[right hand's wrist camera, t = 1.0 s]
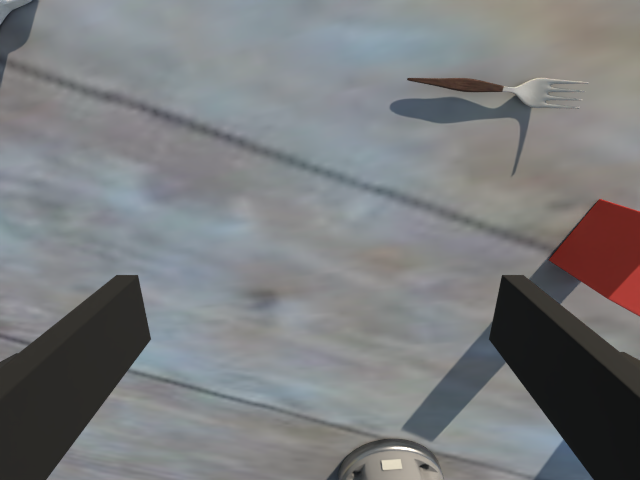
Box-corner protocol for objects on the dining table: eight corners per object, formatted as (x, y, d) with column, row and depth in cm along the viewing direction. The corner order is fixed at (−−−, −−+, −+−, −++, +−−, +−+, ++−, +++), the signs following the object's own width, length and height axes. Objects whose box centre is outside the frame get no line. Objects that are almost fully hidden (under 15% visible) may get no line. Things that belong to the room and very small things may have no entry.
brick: (635, 221, 38) (723, 251, 30) (583, 279, 40) (650, 322, 32) (599, 198, 37) (678, 223, 29) (548, 259, 39) (607, 298, 31)
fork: (408, 64, 32) (414, 61, 30) (574, 81, 33) (589, 79, 31) (403, 94, 33) (408, 93, 31) (564, 110, 34) (579, 110, 32)
